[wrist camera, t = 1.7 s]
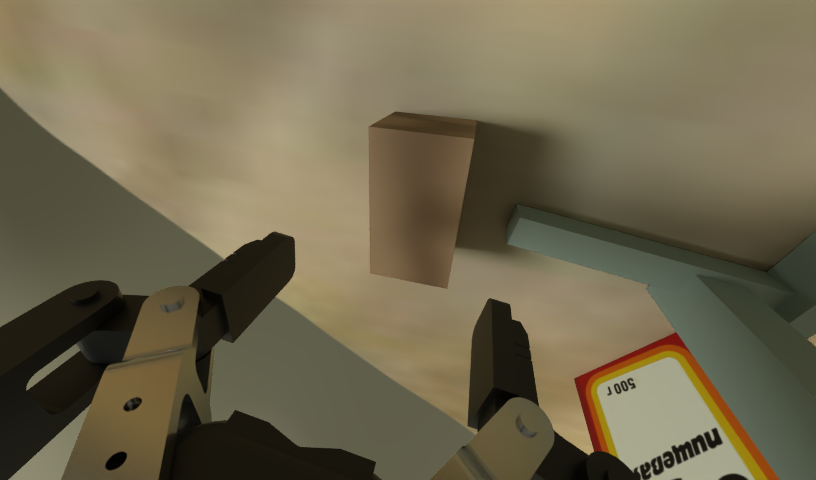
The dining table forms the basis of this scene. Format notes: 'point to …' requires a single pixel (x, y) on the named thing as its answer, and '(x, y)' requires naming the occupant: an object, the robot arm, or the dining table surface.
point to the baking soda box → (667, 418)
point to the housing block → (417, 194)
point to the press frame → (717, 323)
